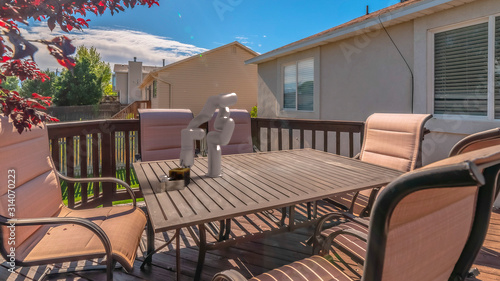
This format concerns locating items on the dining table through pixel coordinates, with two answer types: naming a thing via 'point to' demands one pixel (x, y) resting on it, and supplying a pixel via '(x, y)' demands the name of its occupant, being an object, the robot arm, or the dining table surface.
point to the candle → (180, 175)
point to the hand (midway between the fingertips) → (187, 176)
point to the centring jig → (170, 186)
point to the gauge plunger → (165, 177)
